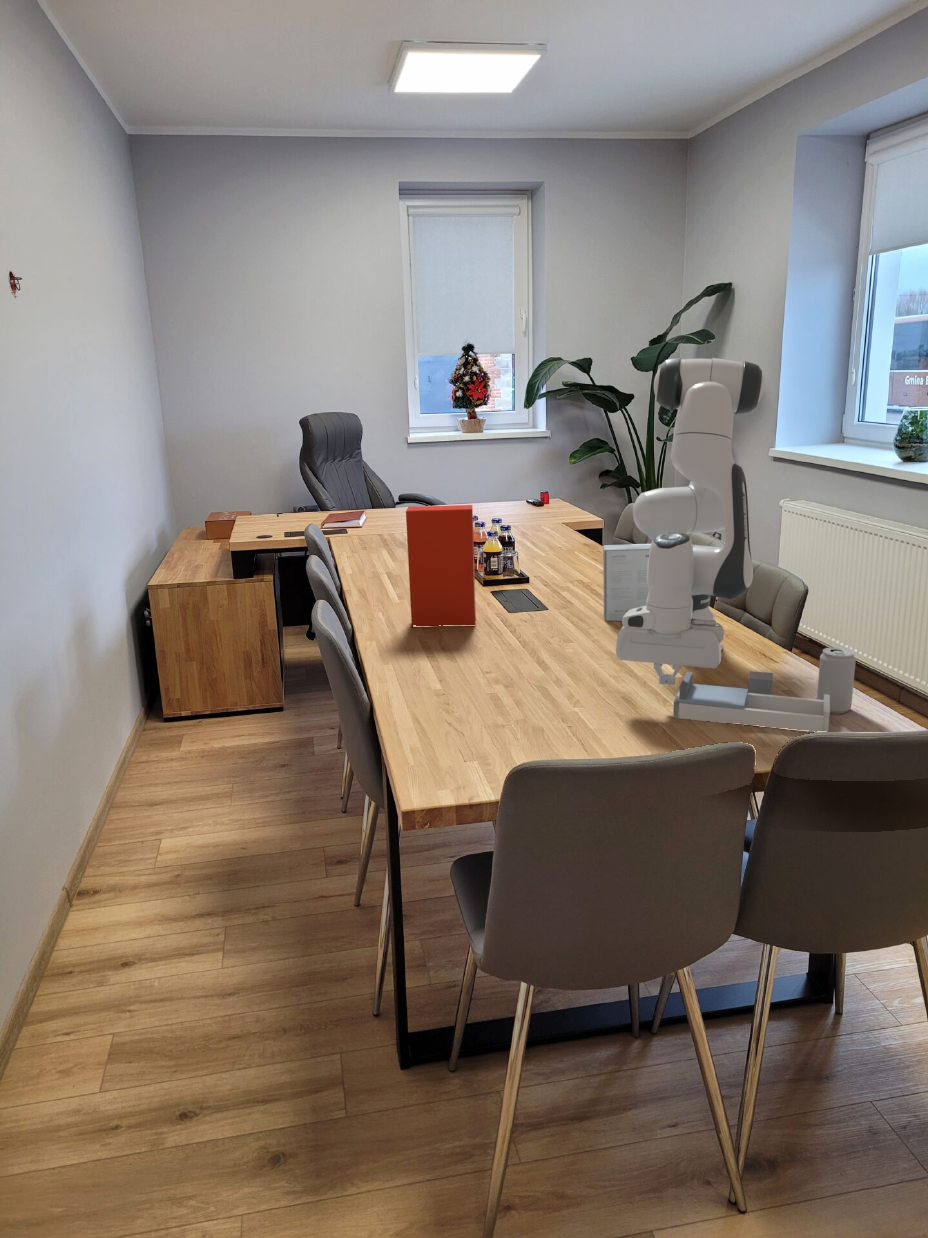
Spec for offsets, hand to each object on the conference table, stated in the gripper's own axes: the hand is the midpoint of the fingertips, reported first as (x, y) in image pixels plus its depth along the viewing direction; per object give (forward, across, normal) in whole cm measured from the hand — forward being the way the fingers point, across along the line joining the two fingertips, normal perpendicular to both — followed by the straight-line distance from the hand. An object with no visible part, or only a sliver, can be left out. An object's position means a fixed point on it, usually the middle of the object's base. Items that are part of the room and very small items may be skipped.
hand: (666, 684), depth 176 cm
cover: (+2, -9, 0) cm, 9 cm away
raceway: (+5, -16, 0) cm, 17 cm away
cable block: (+5, -17, -11) cm, 21 cm away
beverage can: (+5, -31, -9) cm, 33 cm away
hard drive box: (+5, +20, -65) cm, 68 cm away
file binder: (+5, +68, -46) cm, 82 cm away
